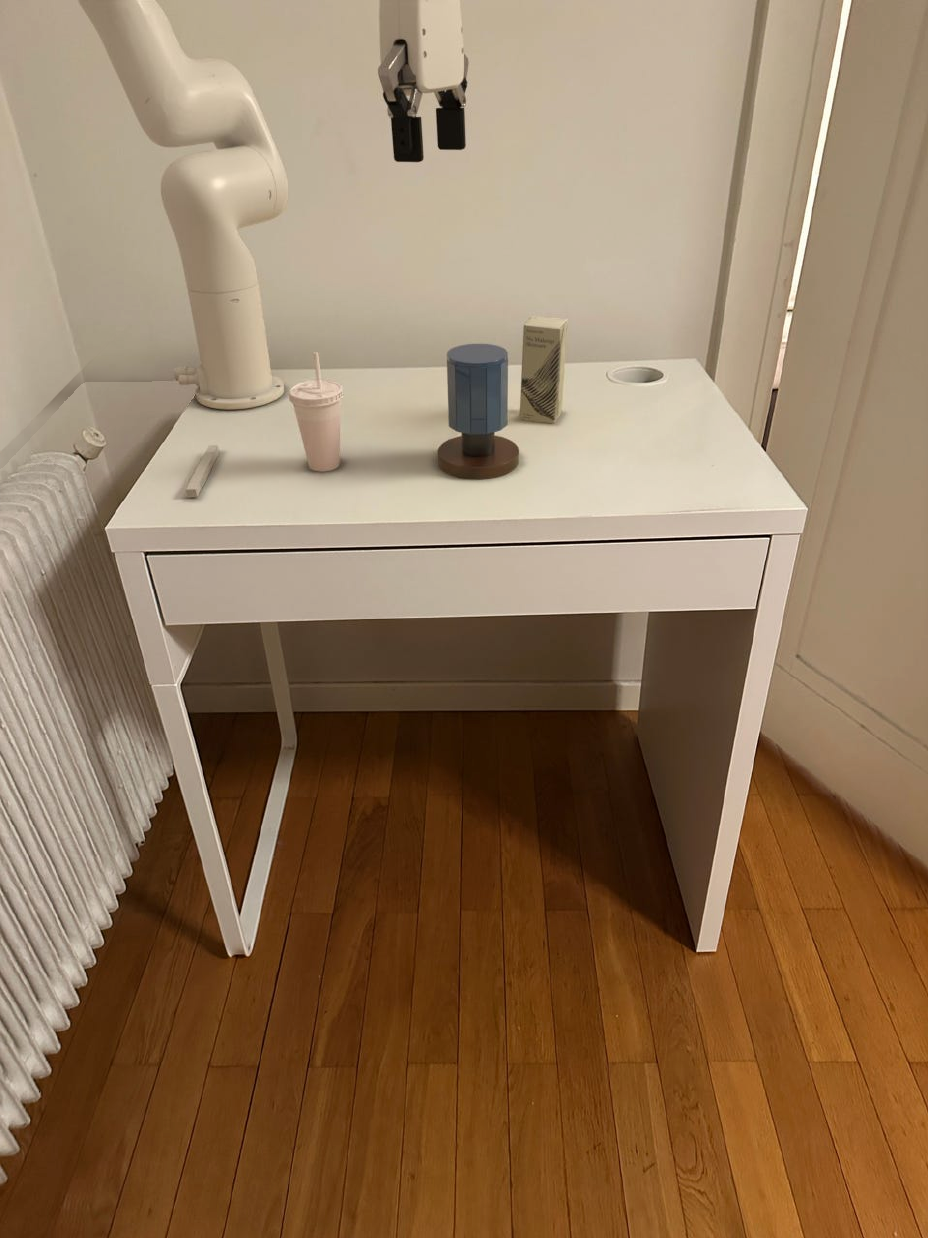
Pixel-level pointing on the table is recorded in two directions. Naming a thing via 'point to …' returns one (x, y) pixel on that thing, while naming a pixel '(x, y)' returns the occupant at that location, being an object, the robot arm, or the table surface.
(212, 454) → the grey long thin bar
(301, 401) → the smoothie
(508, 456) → the disc
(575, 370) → the table surface
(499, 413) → the blue cylinder
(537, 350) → the box
